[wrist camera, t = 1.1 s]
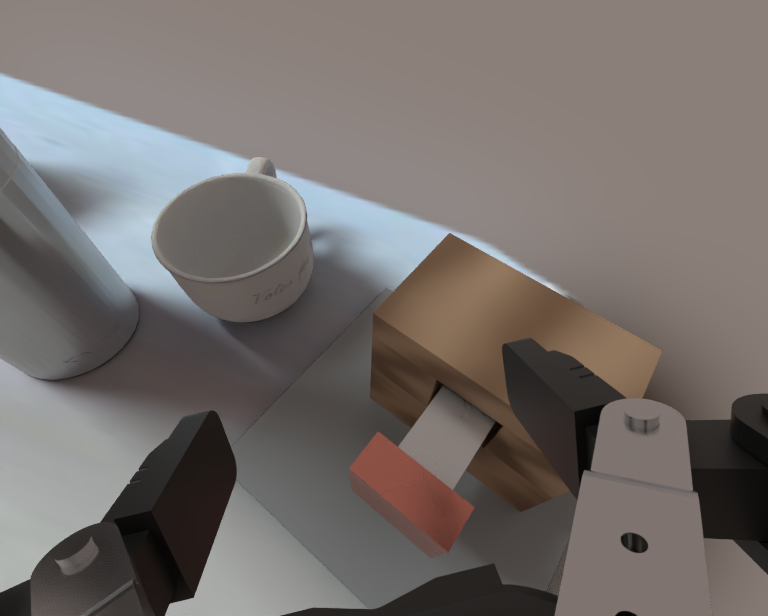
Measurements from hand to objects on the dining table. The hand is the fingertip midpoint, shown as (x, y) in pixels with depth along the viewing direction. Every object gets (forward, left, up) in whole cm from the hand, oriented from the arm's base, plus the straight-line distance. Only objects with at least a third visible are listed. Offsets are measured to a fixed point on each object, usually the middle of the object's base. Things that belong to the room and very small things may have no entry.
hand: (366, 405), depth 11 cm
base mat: (+1, +5, -18) cm, 18 cm away
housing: (+2, +9, -18) cm, 20 cm away
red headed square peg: (+2, +4, -12) cm, 13 cm away
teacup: (-19, +9, -18) cm, 28 cm away
